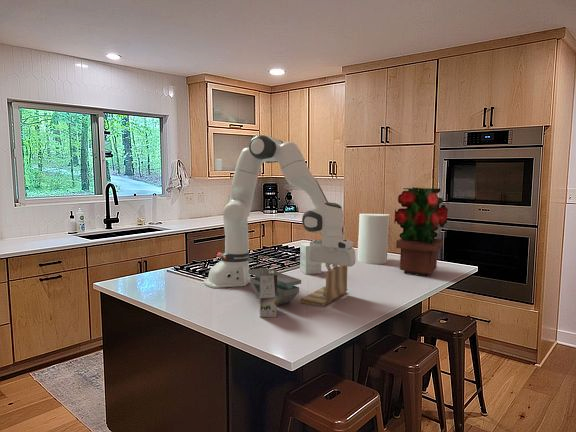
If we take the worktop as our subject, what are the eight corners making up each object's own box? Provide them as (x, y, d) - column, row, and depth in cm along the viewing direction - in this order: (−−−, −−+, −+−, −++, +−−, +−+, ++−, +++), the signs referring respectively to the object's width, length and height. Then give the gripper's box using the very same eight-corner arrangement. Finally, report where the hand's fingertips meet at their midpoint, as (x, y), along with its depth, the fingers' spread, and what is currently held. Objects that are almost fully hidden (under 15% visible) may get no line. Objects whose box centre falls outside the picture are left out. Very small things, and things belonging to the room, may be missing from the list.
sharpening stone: (248, 294, 190) (248, 269, 189) (262, 291, 195) (263, 267, 194) (285, 310, 171) (286, 283, 170) (300, 306, 176) (301, 279, 175)
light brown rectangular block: (321, 307, 176) (322, 293, 175) (300, 302, 181) (300, 289, 180) (346, 292, 196) (346, 280, 195) (326, 288, 201) (326, 277, 201)
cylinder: (389, 264, 253) (392, 216, 249) (359, 263, 253) (361, 215, 249) (383, 257, 270) (386, 212, 266) (355, 257, 270) (357, 211, 267)
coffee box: (276, 317, 163) (277, 275, 161) (259, 317, 163) (260, 275, 161) (275, 309, 172) (276, 268, 170) (259, 309, 172) (259, 268, 170)
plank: (329, 272, 176) (326, 271, 177) (328, 301, 177) (325, 301, 178) (347, 263, 191) (344, 263, 192) (346, 291, 193) (343, 290, 193)
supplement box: (315, 269, 237) (316, 242, 235) (321, 273, 229) (322, 245, 227) (299, 270, 234) (300, 242, 232) (305, 274, 226) (306, 245, 224)
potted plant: (434, 280, 221) (440, 190, 215) (391, 273, 232) (396, 188, 226) (443, 271, 240) (449, 188, 235) (403, 265, 251) (407, 186, 245)
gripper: (306, 240, 187) (306, 272, 188) (351, 245, 176) (350, 279, 178) (313, 238, 192) (313, 269, 194) (357, 243, 182) (356, 275, 183)
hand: (331, 274), depth 186 cm, fingers closed
